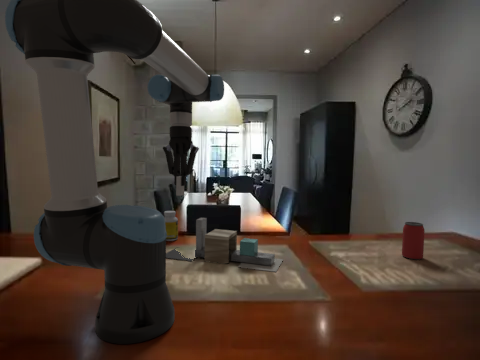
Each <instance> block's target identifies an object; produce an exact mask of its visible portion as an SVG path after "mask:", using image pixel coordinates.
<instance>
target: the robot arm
mask: <svg viewBox="0 0 480 360" xmlns="http://www.w3.org/2000/svg"><path fill="white" fill-rule="evenodd" d="M4 22H5V23H4V24H5V28H6V32H7V34H8V37H9V39H11V40H10V41H12V42H14V43H15V45H14V46H15V47H16V48H17V50H18V51H19V52H21V54H23V55H24V59H25V64H26V65H28V66H29V67H30V68H31V69H33V71H34V72H35V73H36V79H37V88H38V94H39V103H40V112H41V119H42V128H43V137H44V144H45V145H44V147H45V152H46V153H45V154H46V163H47V170H48V177H49V187H50V198H49V199H48V200H47V202H45V204H44V205H43V211H44V213H42V214H41V215H40V217H39V218H38V220H37V221H38V223H36V224H35V226H34V229H33V241H34V245H35V248H36V250H37V251H38V253H39V255H40V256H41V257H43V258H44V259H46V260H47V261H48V262H52V263H57V264H60V265H62V266H66V267H67V266H69V267H71V266H73V267H80V268H87V269H94V270H95V269H96V270H103V271H104V289H103V294H102V297H101V300H100V302H99V305H98V309H97V312H96V315H95V321H94V323H95V325H94V326H95V328H94V329H95V334H96V336H97V337H98V338H99V339H101V340H102V341H105V342H107V343H110V344H117V345H118V344H119V345H123V344H124V345H128V344H137V343H143V342H147V341H149V340H152V339H155V338H157V337H159V336H161V335H163V334H164V333H166V332H167V331H168V330H169V329H170V328H171V327H172V326H173V324H174V322H175V313H176V312H175V306H174V303H173V301H172V297H171V294H170V292H169V289H168V286H167V285H168V284H167V282H166V281H167V278H166V275H167V272H166V271H167V269H166V267H167V258H166V253H167V241H166V237H167V233H166V226H165V218H164V217H165V215H164V214H163V213H162V212H160V211H159V210H158V209H155V208H151V207H148V206H143V205H136V204H135V205H134V204H133V205H132V204H131V205H129V204H117V205H112V206H108V202H107V198H106V197H105V196H103V195H102V194H101V193H100V192H99V189H98V188H99V187H98V177H97V169H96V167H97V166H96V156H95V147H94V135H93V125H92V114H91V103H90V92H89V82H88V75H90V73H91V72H92V71H93V70H94V69H95V57H94V54H98V53H102V52H103V53H105V52H107V53H108V52H109V53H110V52H111V53H113V52H114V53H119V54H120V53H121V54H123V55H126V56H127V57H128V58H130V59H132V60H136V61H143V62H144V63H146V64H147V65H148V66H150V67H151V68H153V69H154V70H155V71H156V72H158V73H160V74H155V75H153V76H151V78H150V79H149V81H148V82H147V93H148V94H149V96H150V98H152V99H154V100H155V101H157V102H159V103H163V104H166V105H168V106H169V125H170V126H169V141H168V144H167V145H166V146H163V147H162V150H163V152H164V154H165V159H166V163H167V168H168V174H169V175H172V176H173V177H174V178H173V179H174V180H173V181H174V184H173V185H174V186H175V187H176V189H175V191H176V192H175V195H176V196H179V197H181V196H184V195H185V186H187V177H188V176H189V175H192V173H193V171H194V170H193V169H194V165H195V160H196V157H197V153H198V151H199V150H200V147H199V146H196V145H194V143H193V140H192V138H193V128H192V125H193V103H206V102H207V103H209V102H210V103H211V102H215V101H216V102H218V101H222V99H223V97H224V95H225V83H224V80H223V77H222V76H221V75H220V74H213V73H211V74H208V73H207V72H206V71H205V70H203V68H202V67H201V66H200V65H199V64H197V63H196V61H194V59H192V58H191V57H190V56H189V55H188V54H187V53H186V52H185V51H184V50H183V49H182V48H181V47H180V45H178V44H177V43H176V42H175V41H174V40H173V39H172V38H171V37H170V36H169V35H167V33H166V32H165V31H164V30H163V25H162V22H161V21H160V20H159V18H158V17H157V16H156V15H155V14H154V13H153V12H152V11H151V10H150V9H149V8H148V7H147V6H145V5H144V4H143V3H141V2H140V1H139V0H9V2H8V4H7V6H6V9H5V15H4ZM189 151H190V152H189Z"/></svg>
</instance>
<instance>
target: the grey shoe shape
mask: <svg viewBox="0 0 480 360" xmlns="http://www.w3.org/2000/svg"><path fill="white" fill-rule="evenodd" d="M176 248H179V247H175V248H173V249H172V250H170V251H168V252H167V251H166V259H167V258H168V259H167V260H175V259H177V261H183V260H187V261H186V262H193V261H194V260H193V259H190V258H189V259H188V258H185V257H184V256H183V255H182V256H183V257H184V258H183V257H182V256H181V253H180V252H178V251H176V250H175V249H176ZM179 253H180V254H179ZM192 260H193V261H192Z"/></svg>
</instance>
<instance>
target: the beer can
mask: <svg viewBox="0 0 480 360" xmlns="http://www.w3.org/2000/svg"><path fill="white" fill-rule="evenodd" d="M425 233H426V232H425V228H424V224H423V223H421V222H417V221H415V222H414V221H406V222H405V223H404V225H403V227H402V243H401V245H402V247H401V255H402V256H403V257H404V258H405V257H406V259H408V258H409V260H413V261H415V260H416V261H417V260H422V259H423V258H424V250H425V249H424V248H425V246H424V245H425Z"/></svg>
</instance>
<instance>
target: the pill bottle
mask: <svg viewBox="0 0 480 360" xmlns="http://www.w3.org/2000/svg"><path fill="white" fill-rule="evenodd" d="M163 216H164V218H165V226H166V233H167V237H166V242H173V241H174V242H175V241H176V240H178V238H179V220H178V217H176V211H175V210H165V211H164V212H163Z"/></svg>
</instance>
